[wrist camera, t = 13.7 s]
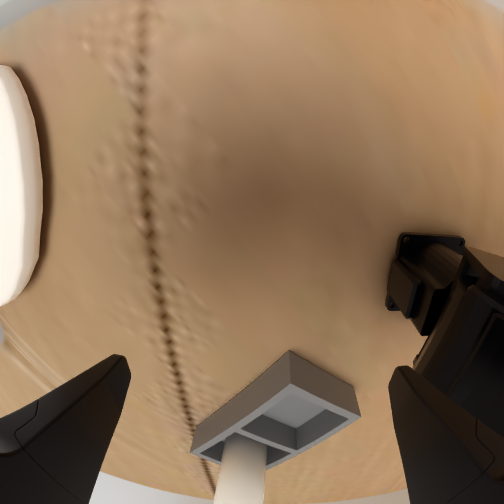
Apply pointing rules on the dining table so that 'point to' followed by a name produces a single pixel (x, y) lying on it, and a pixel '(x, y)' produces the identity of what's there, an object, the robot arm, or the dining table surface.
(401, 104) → the dining table surface
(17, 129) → the plate
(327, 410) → the condiment caddy
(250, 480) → the salt mill
